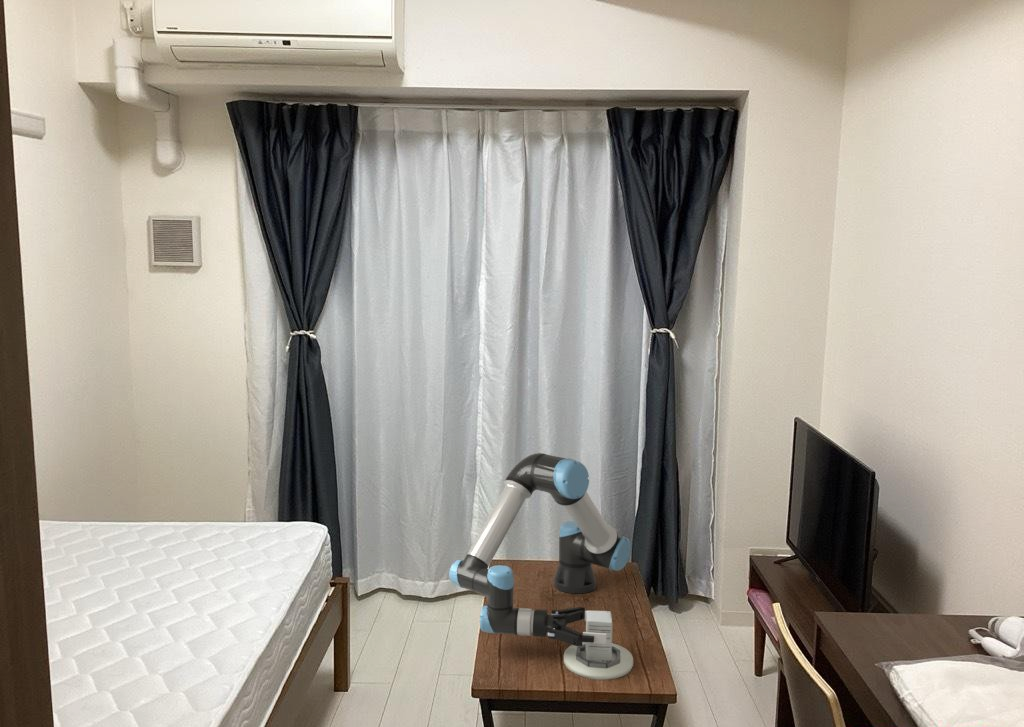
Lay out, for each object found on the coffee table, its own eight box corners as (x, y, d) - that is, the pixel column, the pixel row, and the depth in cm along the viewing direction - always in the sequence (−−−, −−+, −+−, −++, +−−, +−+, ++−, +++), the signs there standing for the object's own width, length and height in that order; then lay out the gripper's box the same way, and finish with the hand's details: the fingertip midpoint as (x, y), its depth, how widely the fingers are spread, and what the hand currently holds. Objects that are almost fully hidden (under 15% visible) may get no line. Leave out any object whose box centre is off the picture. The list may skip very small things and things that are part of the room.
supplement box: (584, 650, 235) (586, 609, 233) (610, 651, 234) (611, 610, 233) (585, 663, 227) (586, 620, 226) (611, 664, 227) (613, 622, 225)
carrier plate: (566, 642, 242) (566, 638, 242) (632, 648, 240) (632, 643, 239) (561, 676, 223) (561, 671, 222) (633, 682, 220) (633, 677, 220)
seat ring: (577, 645, 238) (577, 641, 238) (620, 648, 236) (620, 644, 236) (575, 666, 226) (575, 662, 225) (620, 669, 224) (620, 665, 224)
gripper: (537, 616, 245) (606, 620, 242) (528, 655, 220) (605, 661, 218) (537, 592, 244) (607, 597, 241) (528, 629, 219) (606, 635, 217)
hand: (606, 627), depth 229 cm, fingers open, 13 cm apart
